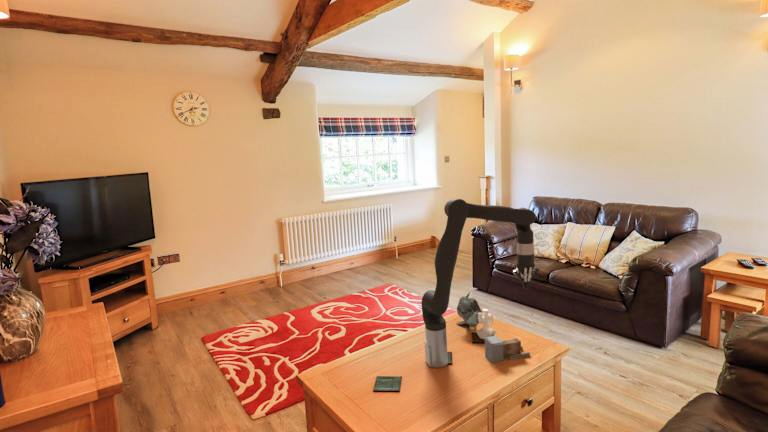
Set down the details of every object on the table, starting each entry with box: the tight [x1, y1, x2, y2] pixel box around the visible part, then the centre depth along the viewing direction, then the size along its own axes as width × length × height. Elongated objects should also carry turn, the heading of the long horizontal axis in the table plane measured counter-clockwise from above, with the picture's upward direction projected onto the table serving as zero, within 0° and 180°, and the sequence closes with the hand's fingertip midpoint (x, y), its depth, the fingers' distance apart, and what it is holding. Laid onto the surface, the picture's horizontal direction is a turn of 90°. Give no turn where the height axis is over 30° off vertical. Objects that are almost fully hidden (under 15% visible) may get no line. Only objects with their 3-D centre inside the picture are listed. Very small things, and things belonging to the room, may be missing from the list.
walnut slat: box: [501, 338, 522, 360], centre depth 193 cm, size 14×3×7 cm, turn 102°
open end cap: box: [508, 345, 531, 361], centre depth 195 cm, size 10×7×2 cm
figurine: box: [475, 307, 497, 341], centre depth 212 cm, size 7×9×15 cm
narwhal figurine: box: [456, 291, 482, 333], centre depth 223 cm, size 14×15×18 cm
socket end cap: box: [484, 335, 505, 364], centre depth 192 cm, size 6×7×9 cm
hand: (526, 288), depth 196 cm, fingers closed
